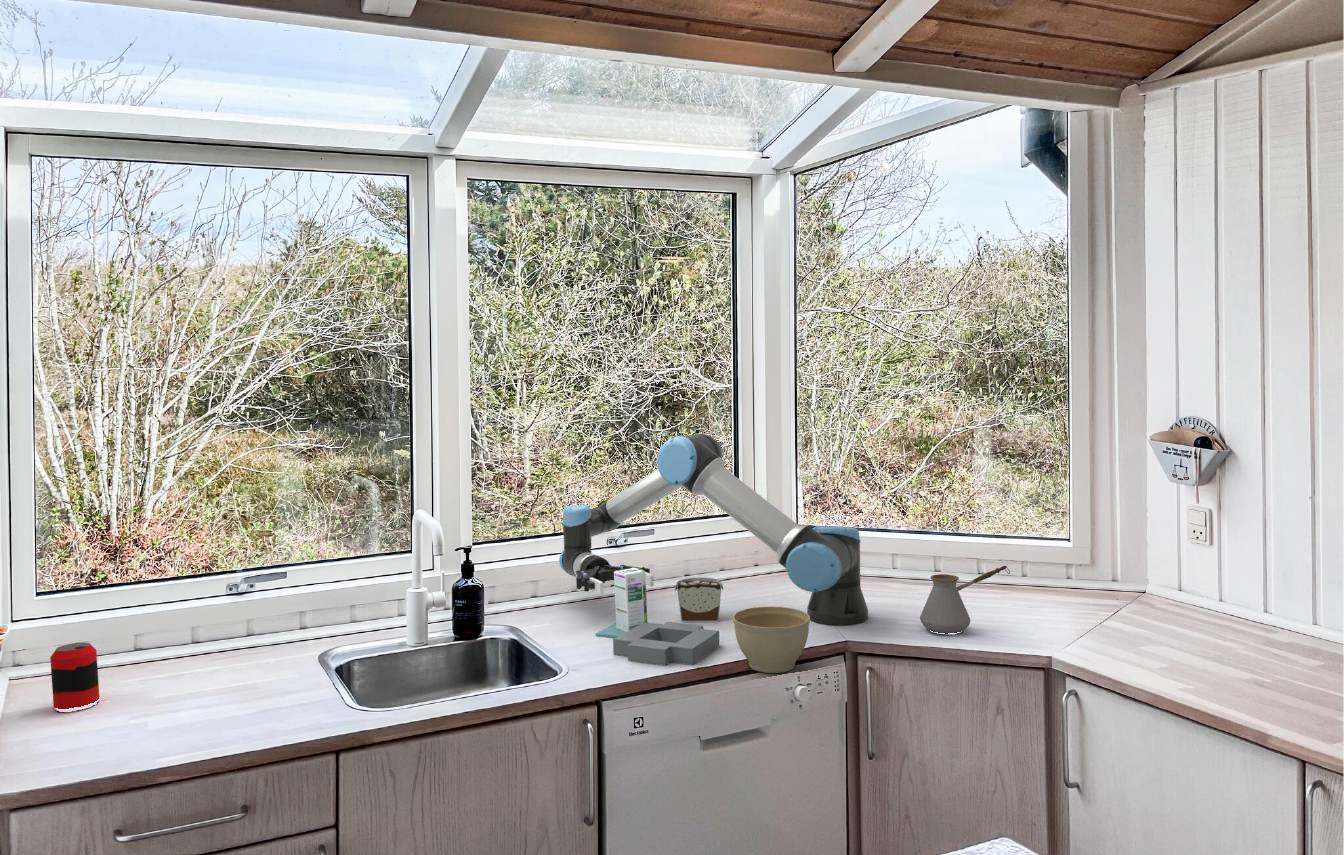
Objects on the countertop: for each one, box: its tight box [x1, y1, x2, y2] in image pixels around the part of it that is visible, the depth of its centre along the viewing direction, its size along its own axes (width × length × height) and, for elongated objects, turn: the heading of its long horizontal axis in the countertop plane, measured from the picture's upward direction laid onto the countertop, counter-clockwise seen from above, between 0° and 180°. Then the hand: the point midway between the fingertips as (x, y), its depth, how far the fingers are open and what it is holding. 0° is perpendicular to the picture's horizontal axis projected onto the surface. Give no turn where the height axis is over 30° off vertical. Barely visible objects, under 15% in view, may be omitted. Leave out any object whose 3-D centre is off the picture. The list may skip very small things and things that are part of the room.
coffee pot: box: [919, 565, 1011, 634], centre depth 210 cm, size 21×12×15 cm, turn 93°
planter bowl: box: [732, 605, 811, 674], centre depth 188 cm, size 16×16×11 cm
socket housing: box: [612, 621, 720, 666], centre depth 201 cm, size 20×20×4 cm
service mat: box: [595, 621, 664, 639], centre depth 217 cm, size 13×13×1 cm
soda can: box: [49, 641, 100, 709], centre depth 176 cm, size 8×8×12 cm
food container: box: [674, 576, 725, 623], centre depth 227 cm, size 12×6×10 cm, turn 84°
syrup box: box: [613, 568, 648, 632], centre depth 217 cm, size 6×6×14 cm
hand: (627, 584), depth 217 cm, fingers open, 13 cm apart
